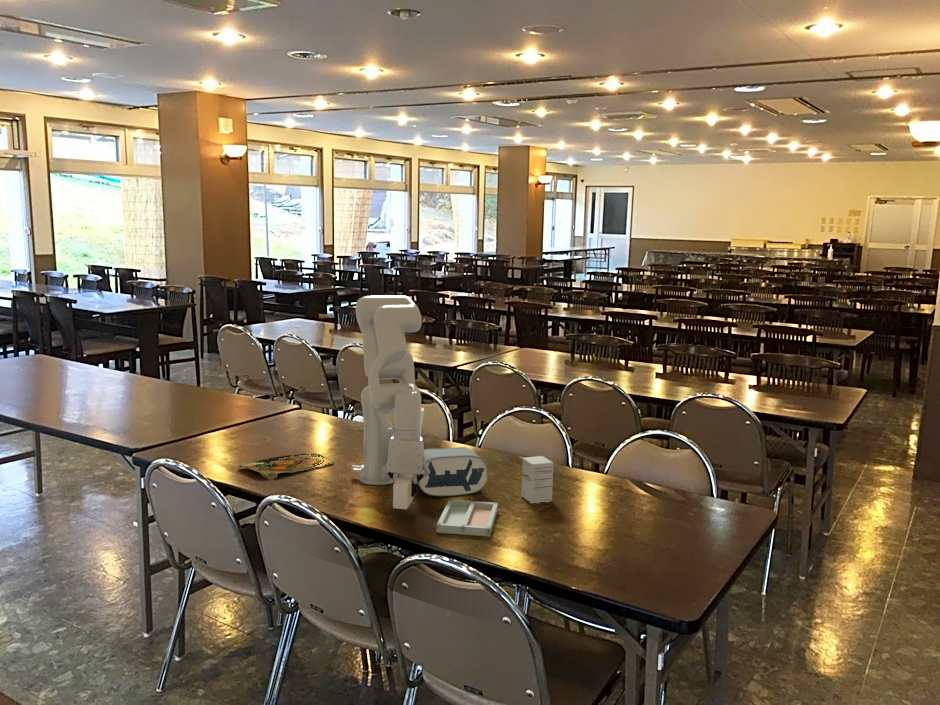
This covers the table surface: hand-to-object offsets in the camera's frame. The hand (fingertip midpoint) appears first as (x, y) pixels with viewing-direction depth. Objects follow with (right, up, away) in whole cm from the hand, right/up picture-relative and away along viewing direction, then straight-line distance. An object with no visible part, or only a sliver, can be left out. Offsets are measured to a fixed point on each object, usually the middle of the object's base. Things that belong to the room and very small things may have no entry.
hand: (405, 494), depth 228 cm
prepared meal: (-44, +1, +43) cm, 62 cm away
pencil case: (+11, -3, +26) cm, 28 cm away
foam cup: (-4, +6, +77) cm, 77 cm away
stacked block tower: (+39, -5, +17) cm, 43 cm away
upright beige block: (0, -2, 0) cm, 2 cm away
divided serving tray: (+18, -7, -2) cm, 19 cm away
